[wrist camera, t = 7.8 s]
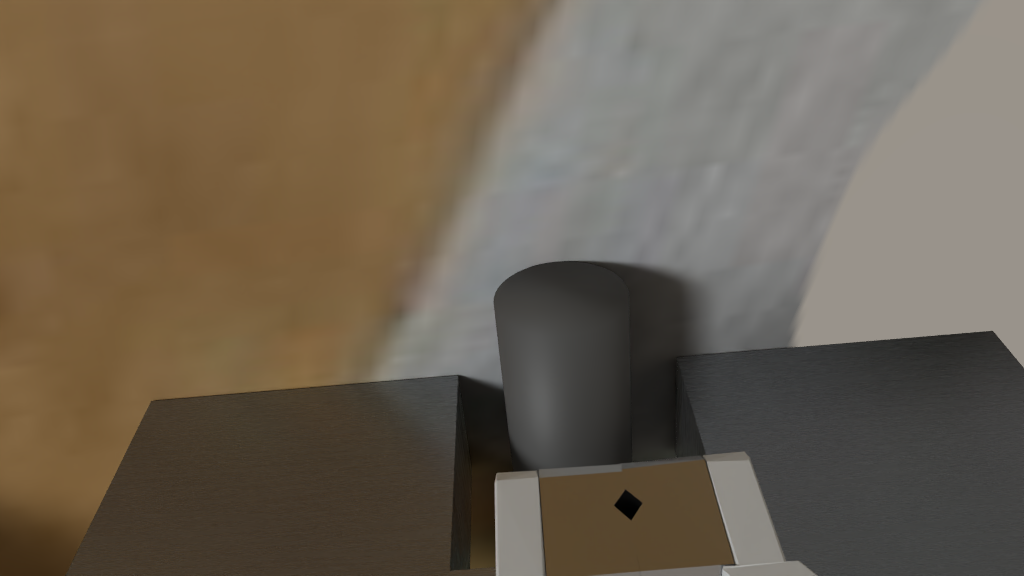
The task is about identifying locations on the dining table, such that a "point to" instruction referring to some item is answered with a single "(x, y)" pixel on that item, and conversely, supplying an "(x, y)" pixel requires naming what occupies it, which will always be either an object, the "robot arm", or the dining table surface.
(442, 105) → the dining table surface
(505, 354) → the plug
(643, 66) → the dining table surface
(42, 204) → the dining table surface
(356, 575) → the block
